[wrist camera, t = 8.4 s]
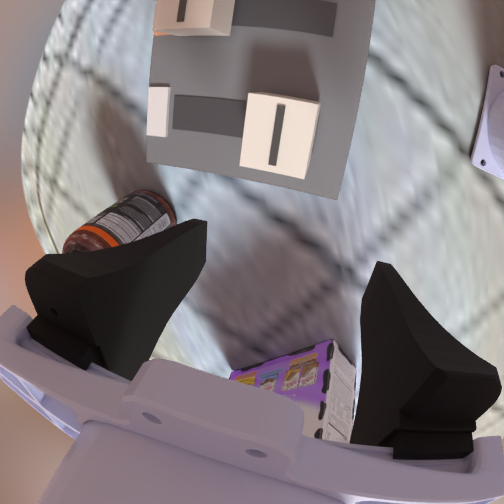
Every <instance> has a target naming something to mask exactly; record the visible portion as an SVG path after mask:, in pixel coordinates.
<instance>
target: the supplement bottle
mask: <svg viewBox="0 0 504 504" xmlns="http://www.w3.org/2000/svg"><path fill="white" fill-rule="evenodd" d="M175 225H177V224H176V219H175V216H174V213H173V211H172V209H171V207H170V206H169V204H168V203H167V202H166V201H165V200H164V199H163V198H162V197H160V196H159V195H157V194H156V193H153V192H151V191H147V190H140V191H136V192H133V193H131V194H129V195H127V196H126V197H124V198H122V199H121V200H119V201H118V202H116V203H115V204H113V205H112V206H110V207H109V208H107V209H106V210H104V211H103V212H101V213H100V214H98V215H97V216H95V217H94V218H92V219H91V220H90V221H88V222H87V223H85V224H84V225H82V226H81V227H80V228H78V229H77V230H76V231H74V232H73V233H72V234H71V235H70V236H69V237H68V238H67V240H66V241H65V243H64V246H63V252H62V254H69V253H80V252H88V251H95V250H100V249H105V248H110V247H115V246H119V245H123V244H126V243H130V242H133V241H136V240H139V239H142V238H144V237H147V236H150V235H153V234H155V233H158V232H160V231H163V230H165V229H168V228H170V227H173V226H175Z"/></svg>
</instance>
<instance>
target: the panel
mask: <svg viewBox="0 0 504 504" xmlns="http://www.w3.org/2000/svg"><path fill="white" fill-rule="evenodd" d="M374 8H375V0H235V4H234V11H233V18H232V24H231V31H230V36H176V35H172V34H167V33H163V32H158V31H154V38H153V46H152V56H151V67H150V79H149V93H148V112H147V145H146V162H147V163H154V164H161V165H168V166H174V167H180V168H186V169H192V170H198V171H204V172H210V173H215V174H220V175H226V176H231V177H236V178H241V179H246V180H251V181H256V182H261V183H266V184H270V185H275V186H279V187H284V188H288V189H293V190H297V191H301V192H306V193H310V194H314V195H318V196H322V197H326V198H330V199H334V200H337V199H338V195H339V191H340V187H341V183H342V179H343V175H344V171H345V167H346V162H347V158H348V154H349V149H350V145H351V141H352V136H353V131H354V127H355V122H356V117H357V112H358V107H359V102H360V97H361V92H362V86H363V81H364V75H365V69H366V63H367V57H368V51H369V45H370V38H371V31H372V24H373V16H374ZM255 92H265V93H272V94H279V95H285V96H291V97H296V98H302V99H307V100H312V101H317V102H321V105H320V111H319V116H318V122H317V127H316V132H315V138H314V143H313V148H312V153H311V158H310V163H309V167H308V170H307V173H306V175H305V178H304V179H300V178H296V177H291V176H287V175H282V174H278V173H273V172H268V171H263V170H258V169H253V168H248V167H243V166H239V165H240V157H241V148H242V140H243V132H244V124H245V116H246V108H247V100H248V93H255Z"/></svg>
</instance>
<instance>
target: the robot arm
mask: <svg viewBox="0 0 504 504" xmlns="http://www.w3.org/2000/svg"><path fill="white" fill-rule="evenodd" d="M500 71H501V72H502V74H503V77H501V76H500ZM482 159H483V160H484V163H483V165H481V164H480V162H481V160H482ZM471 163H472V164H473V165H474V166H476V167H478V168H480V169H482V170H484V171H486V172H489V173H491V174H493V175H495V176H497V177H499V178H501V179H503V180H504V69H503V68H502V67H500V66H498V65H491V66H490V71H489V78H488V84H487V90H486V96H485V101H484V106H483V111H482V115H481V120H480V124H479V128H478V133H477V136H476V140H475V144H474V148H473V151H472V155H471ZM206 241H207V221H203V220H198V219H191V220H188V221H185V222H182V223H180V224H177V225H175V226H173V227H170V228H168V229H165V230H163V231H160V232H158V233H155V234H153V235H150V236H147V237H144V238H142V239H139V240H136V241H133V242H130V243H126V244H123V245H119V246H115V247H110V248H105V249H100V250H95V251H88V252H80V253H69V254H46V255H45V256H43V257H42V258H41V259H40V260H38V261H37V262H36V263H35V264H33V265H32V266H31V267H30V268H28V270H27V271H26V274H25V283H26V287H27V290H28V293H29V295H30V298H31V300H32V303H33V305H34V307H35V310H36V312H37V314H38V315H37V316H36V317H35V318H34V319H32V318H31V317H30V316H29V315H28V314H27V313H26V312H24V311H23V310H21V309H20V308H18V307H17V306H15V305H12V306H11V307H10V308H9V309H8V310H7V311H6V312H4V313H3V314H2V315H1V316H0V378H1V379H2V380H3V381H4V382H5V383H6V384H7V385H8V386H9V387H10V388H11V389H12V390H14V391H15V392H16V393H17V394H18V395H19V396H20V397H22V398H23V399H24V400H25V401H26V402H27V403H29V404H30V405H31V406H32V407H33V408H34V409H36V410H37V411H38V412H39V413H41V414H42V415H43V416H44V417H45V418H47V419H48V420H49V421H51V422H52V423H53V424H54V425H56V426H57V427H58V428H60V429H61V430H62V431H64V432H65V433H66V434H68V435H69V436H70V437H72V438H73V439H75V441H74V443H73V444H72V446H71V448H70V449H69V451H68V452H67V454H66V456H65V457H64V459H63V461H62V462H61V464H60V465H59V467H58V469H57V471H56V472H55V474H54V476H53V477H52V479H51V480H50V482H49V484H48V486H47V487H46V489H45V491H44V492H43V494H42V496H41V498H40V499H39V501H38V503H37V504H488V503H490V502H492V501H494V500H496V499H498V498H500V497H502V496H504V454H503V446H502V440H501V436H488V437H479V438H476V439H474V440H473V438H472V432H474V431H475V430H476V420H477V419H478V418H479V417H480V416H481V415H482V414H484V413H485V412H486V411H487V410H488V409H489V408H490V407H491V406H492V405H493V404H494V403H495V402H496V400H497V399H498V397H499V395H500V393H501V389H502V386H501V382H500V379H499V375H498V372H497V368H496V367H495V366H493V365H491V364H490V363H488V362H487V361H485V360H483V359H482V358H480V357H479V356H477V355H476V354H474V353H473V352H472V351H470V350H469V349H468V348H466V347H465V346H464V345H462V344H461V343H460V342H459V341H458V340H456V339H455V338H454V337H453V336H452V335H451V334H450V333H448V332H447V331H446V330H445V329H444V328H443V327H442V326H441V325H440V324H439V323H438V322H437V321H436V320H435V319H434V318H433V317H432V315H431V314H430V313H429V312H428V311H427V310H426V309H425V307H424V306H423V305H422V304H421V303H420V301H419V300H418V299H417V298H416V296H415V295H414V294H413V292H412V291H411V290H410V288H409V287H408V286H407V284H406V283H405V282H404V280H403V279H402V278H401V276H400V275H399V274H398V272H397V271H396V270H395V268H394V267H393V266H392V265H391V264H388V263H384V262H380V261H377V262H376V265H375V268H374V270H373V273H372V275H371V278H370V280H369V283H368V285H367V288H366V290H365V293H364V295H363V298H362V303H361V316H360V326H361V350H362V373H361V382H360V391H359V397H358V404H357V410H356V415H355V420H354V425H353V430H352V434H351V438H350V442H349V443H342V442H335V441H329V440H323V439H317V438H311V437H308V436H305V435H303V434H302V430H303V425H304V411H303V410H302V409H301V408H300V407H299V406H298V405H297V404H295V403H294V402H293V401H292V400H291V399H290V398H288V397H285V396H283V395H280V394H278V393H275V392H273V391H270V390H266V389H262V388H258V387H255V386H251V385H247V384H244V383H240V382H237V381H233V380H230V379H226V378H223V377H220V376H217V375H213V374H210V373H207V372H204V371H201V370H198V369H195V368H192V367H189V366H186V365H183V364H180V363H178V362H174V361H169V360H164V359H153V360H149V358H150V356H151V354H152V352H153V350H154V348H155V346H156V343H157V341H158V339H159V337H160V335H161V334H162V332H163V330H164V328H165V326H166V324H167V322H168V321H169V319H170V317H171V316H172V314H173V313H174V311H175V310H176V308H177V307H178V306H179V304H180V303H181V301H182V300H183V299H184V297H185V296H186V294H187V293H188V291H189V290H190V289H191V287H192V286H193V284H194V283H195V281H196V280H197V278H198V276H199V274H200V272H201V271H202V268H203V266H204V264H205V262H206Z"/></svg>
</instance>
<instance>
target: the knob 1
mask: <svg viewBox="0 0 504 504" xmlns="http://www.w3.org/2000/svg"><path fill="white" fill-rule="evenodd" d="M234 4H235V0H157V3H156V9H155V16H154V23H153V31H158V32H163V33H167V34H172V35H176V36H230V31H231V24H232V18H233V11H234Z"/></svg>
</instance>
